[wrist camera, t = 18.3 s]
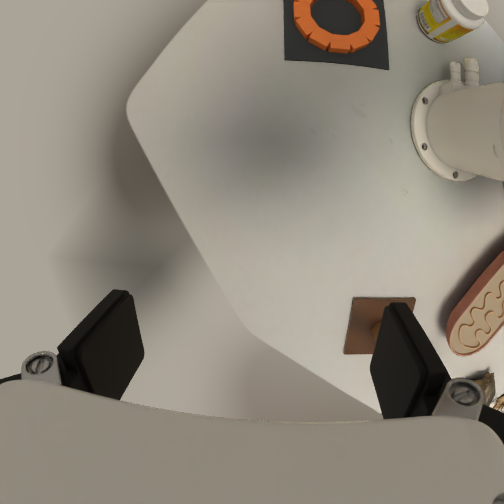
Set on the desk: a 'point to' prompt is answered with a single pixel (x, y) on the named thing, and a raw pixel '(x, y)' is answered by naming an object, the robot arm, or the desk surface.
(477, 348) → the mitochondrion model
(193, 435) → the robot arm
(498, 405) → the insect
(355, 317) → the ring post
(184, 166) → the desk surface
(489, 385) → the rock
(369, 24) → the ring
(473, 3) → the supplement bottle
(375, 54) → the mat
